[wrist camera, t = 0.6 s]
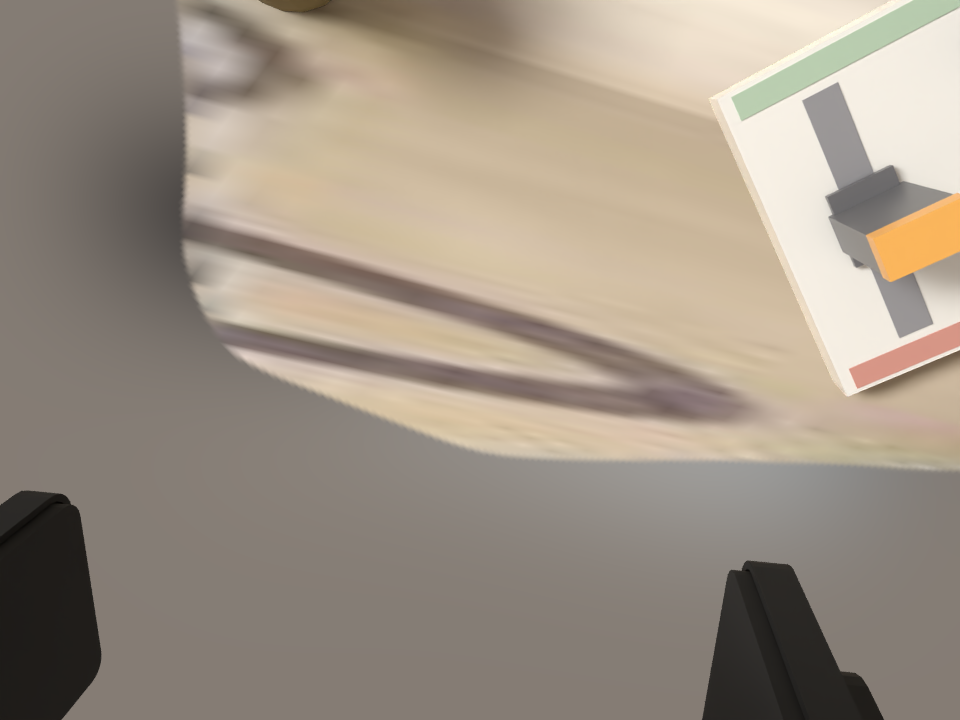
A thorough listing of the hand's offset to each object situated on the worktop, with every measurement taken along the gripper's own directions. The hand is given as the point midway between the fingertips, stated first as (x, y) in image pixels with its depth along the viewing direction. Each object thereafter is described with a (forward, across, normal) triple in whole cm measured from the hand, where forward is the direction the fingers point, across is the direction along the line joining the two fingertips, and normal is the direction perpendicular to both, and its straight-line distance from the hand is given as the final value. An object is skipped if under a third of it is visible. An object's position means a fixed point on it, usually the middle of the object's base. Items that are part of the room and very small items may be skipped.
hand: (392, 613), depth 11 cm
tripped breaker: (+24, -14, -3) cm, 28 cm away
